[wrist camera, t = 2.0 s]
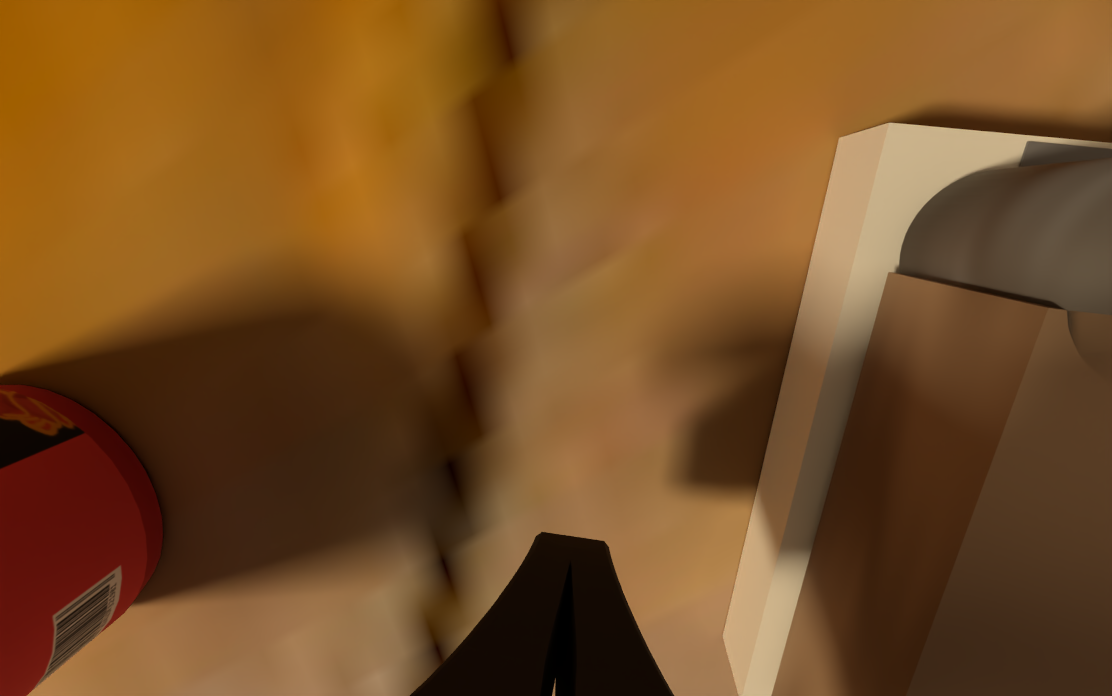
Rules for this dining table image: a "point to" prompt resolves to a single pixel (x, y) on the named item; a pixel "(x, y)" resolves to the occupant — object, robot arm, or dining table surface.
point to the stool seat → (844, 353)
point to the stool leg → (975, 458)
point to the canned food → (66, 532)
